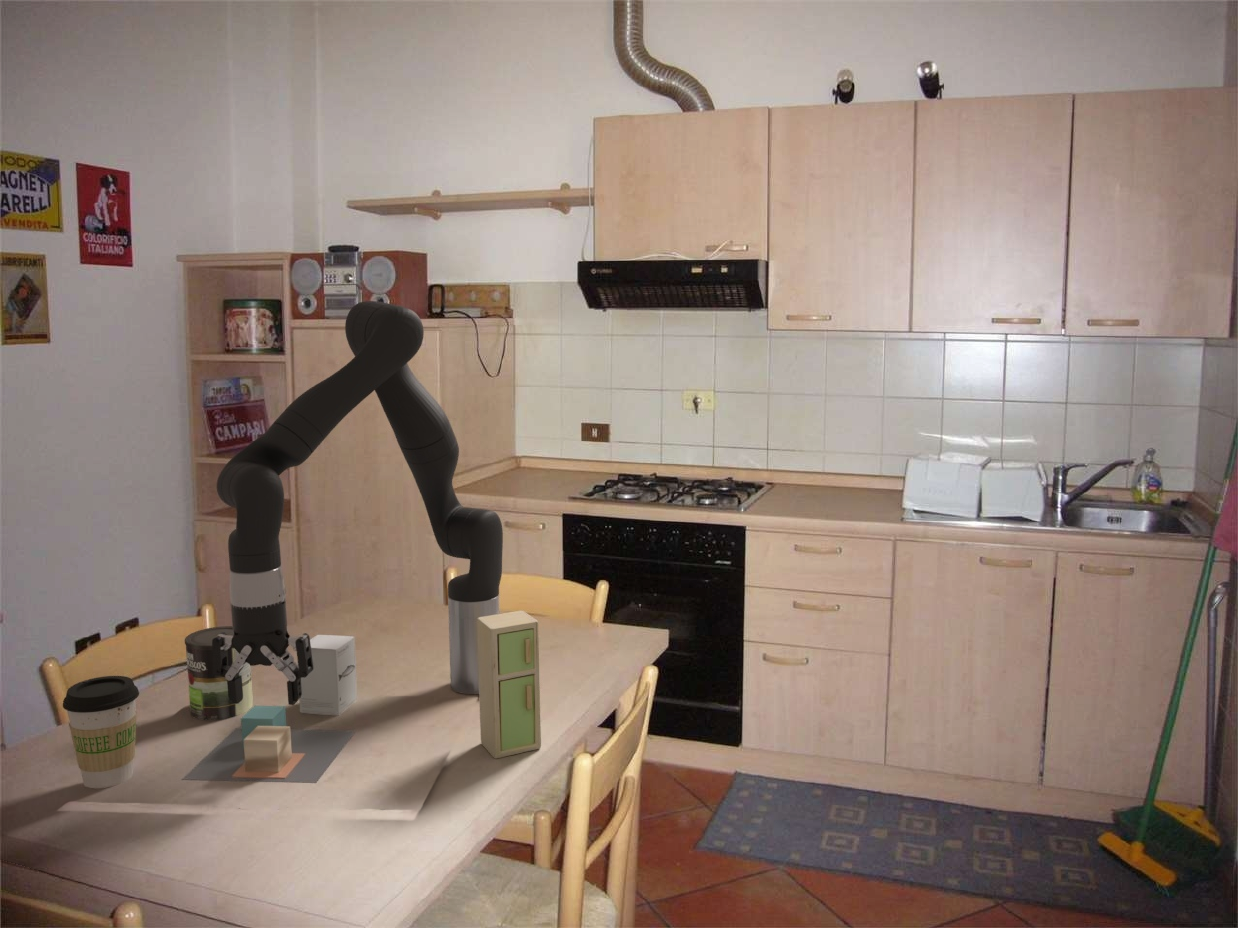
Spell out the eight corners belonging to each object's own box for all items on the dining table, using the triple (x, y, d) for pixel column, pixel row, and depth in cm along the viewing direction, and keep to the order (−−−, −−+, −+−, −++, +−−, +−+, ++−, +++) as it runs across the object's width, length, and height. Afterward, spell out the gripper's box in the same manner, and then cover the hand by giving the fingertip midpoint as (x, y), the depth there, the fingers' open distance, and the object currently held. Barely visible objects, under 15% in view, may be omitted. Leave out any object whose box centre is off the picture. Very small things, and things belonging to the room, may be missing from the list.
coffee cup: (95, 806, 138) (86, 704, 135) (56, 789, 143) (47, 690, 141) (160, 778, 146) (152, 682, 144) (121, 763, 151) (113, 669, 149)
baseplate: (356, 736, 160) (356, 729, 160) (316, 788, 143) (316, 781, 142) (236, 733, 162) (235, 727, 161) (182, 785, 144) (181, 778, 144)
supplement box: (339, 721, 166) (335, 649, 165) (298, 718, 168) (294, 646, 166) (359, 704, 174) (355, 635, 172) (320, 701, 175) (316, 633, 173)
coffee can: (206, 731, 163) (201, 649, 160) (179, 714, 170) (173, 635, 167) (265, 713, 170) (260, 634, 168) (237, 697, 177) (232, 621, 175)
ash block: (278, 772, 145) (276, 740, 145) (245, 771, 146) (243, 739, 145) (291, 757, 150) (290, 726, 150) (259, 756, 151) (258, 725, 150)
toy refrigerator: (495, 761, 151) (492, 629, 148) (479, 743, 158) (476, 616, 154) (543, 751, 155) (541, 621, 152) (525, 733, 161) (523, 609, 158)
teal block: (286, 735, 158) (285, 706, 158) (274, 749, 153) (272, 718, 153) (256, 735, 159) (254, 705, 158) (242, 748, 154) (241, 718, 153)
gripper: (198, 604, 141) (207, 712, 144) (295, 605, 140) (303, 713, 143) (222, 589, 148) (230, 691, 151) (315, 590, 147) (321, 693, 150)
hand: (265, 702), depth 147 cm, fingers open, 8 cm apart
